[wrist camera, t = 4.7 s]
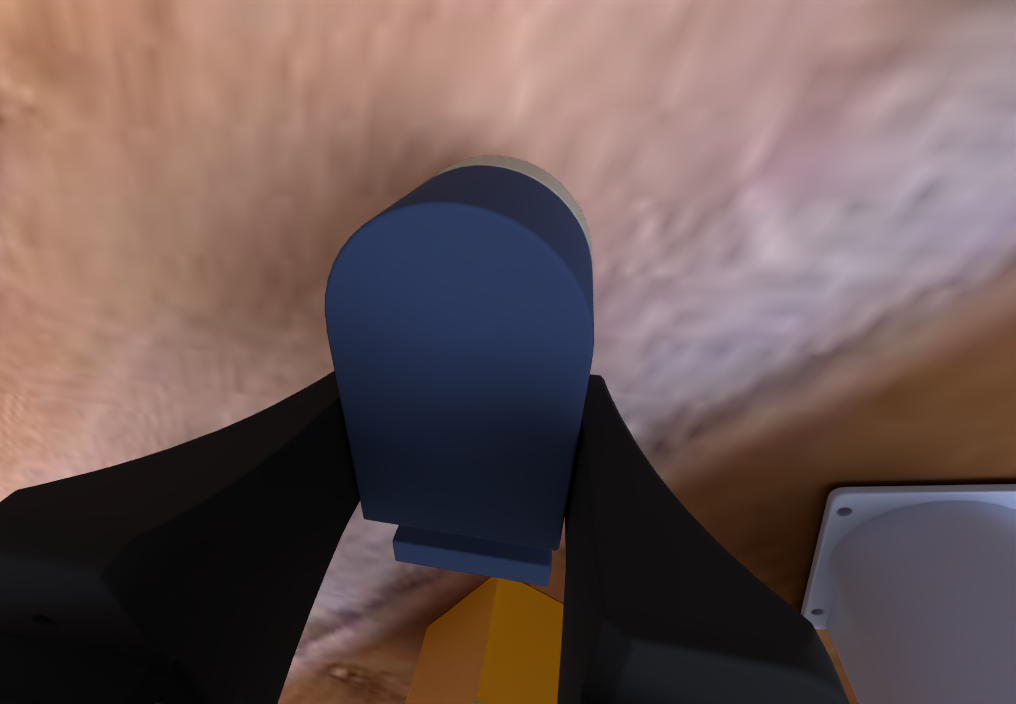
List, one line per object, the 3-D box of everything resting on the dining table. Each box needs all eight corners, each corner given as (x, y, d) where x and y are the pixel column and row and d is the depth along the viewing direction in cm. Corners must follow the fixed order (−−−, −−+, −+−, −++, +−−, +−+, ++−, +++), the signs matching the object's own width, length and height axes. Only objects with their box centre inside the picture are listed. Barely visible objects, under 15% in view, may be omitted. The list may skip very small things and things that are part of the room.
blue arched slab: (554, 503, 15) (544, 631, 12) (425, 483, 16) (379, 601, 12) (606, 162, 10) (617, 216, 6) (398, 147, 10) (297, 189, 6)
